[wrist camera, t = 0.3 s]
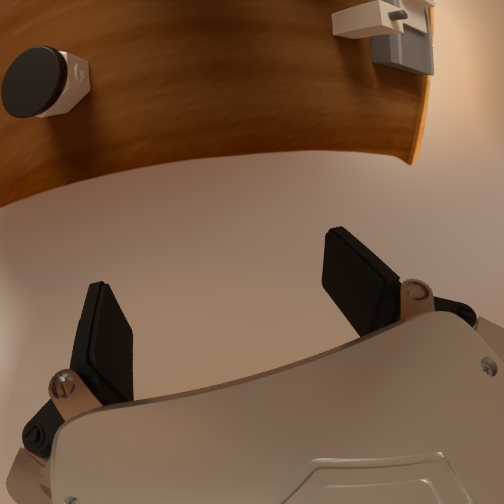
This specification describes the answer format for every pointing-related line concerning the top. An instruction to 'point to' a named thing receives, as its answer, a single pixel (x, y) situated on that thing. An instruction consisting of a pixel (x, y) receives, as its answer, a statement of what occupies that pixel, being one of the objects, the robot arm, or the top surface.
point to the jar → (44, 83)
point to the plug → (368, 20)
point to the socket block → (405, 48)
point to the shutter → (415, 13)
